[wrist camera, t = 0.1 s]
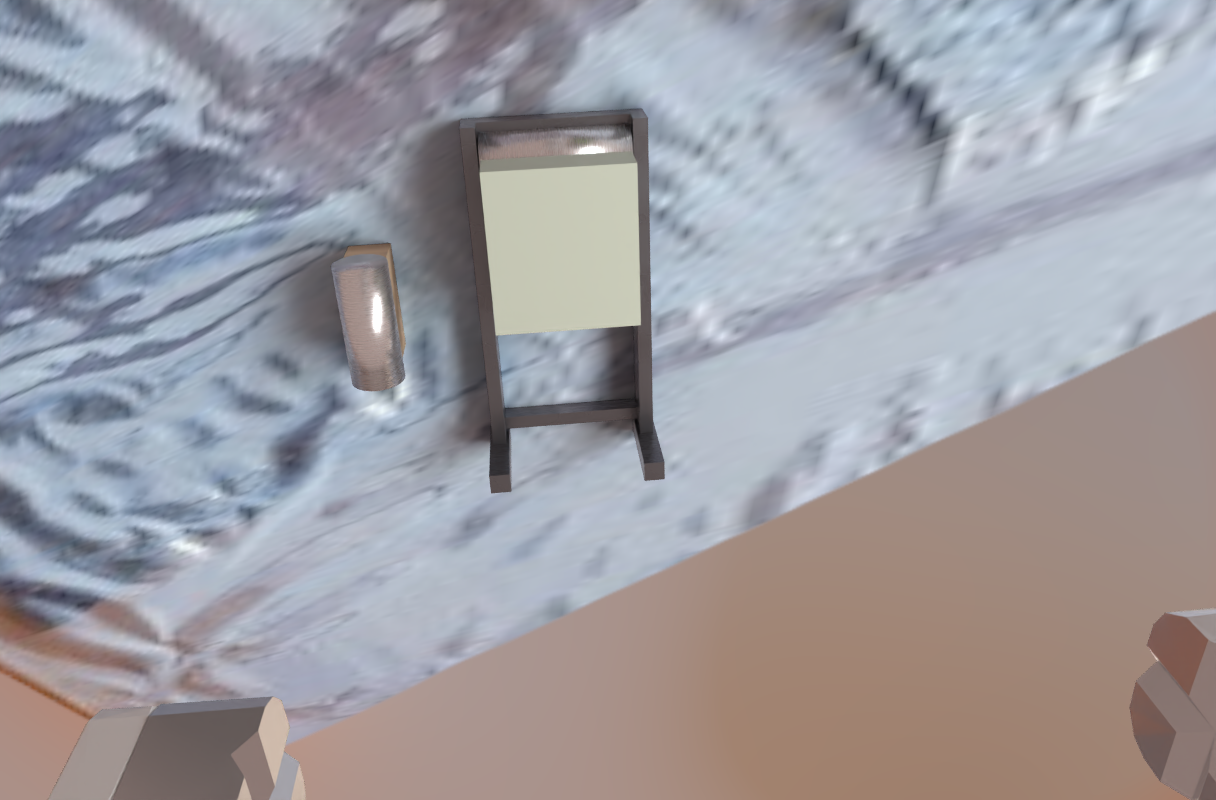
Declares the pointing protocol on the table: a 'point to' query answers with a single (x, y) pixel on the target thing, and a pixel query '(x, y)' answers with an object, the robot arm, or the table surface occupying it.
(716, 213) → the table surface
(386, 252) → the block
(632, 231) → the slab
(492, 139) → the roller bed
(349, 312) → the roller
